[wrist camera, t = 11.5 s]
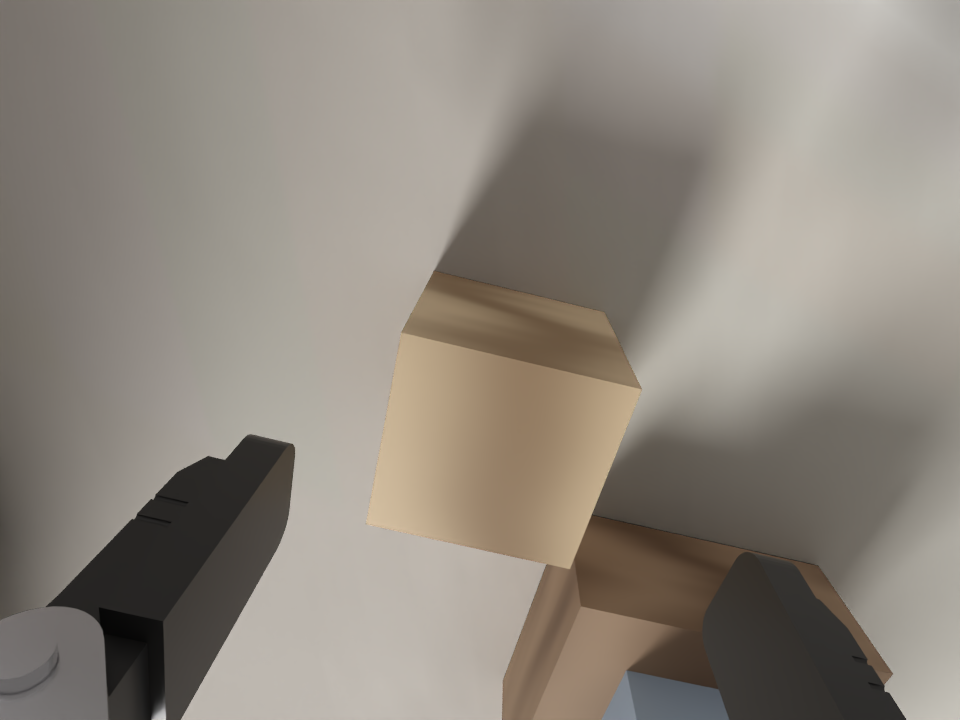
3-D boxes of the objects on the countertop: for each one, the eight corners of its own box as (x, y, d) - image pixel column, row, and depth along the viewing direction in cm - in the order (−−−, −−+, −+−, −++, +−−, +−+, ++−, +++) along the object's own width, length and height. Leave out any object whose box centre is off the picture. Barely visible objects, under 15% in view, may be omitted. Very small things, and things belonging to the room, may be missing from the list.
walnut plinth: (502, 681, 22) (500, 792, 18) (567, 509, 18) (581, 606, 15) (714, 725, 22) (753, 843, 19) (818, 565, 19) (892, 674, 15)
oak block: (404, 418, 17) (365, 524, 13) (434, 270, 15) (401, 332, 11) (554, 453, 18) (569, 569, 13) (603, 311, 16) (642, 389, 11)
